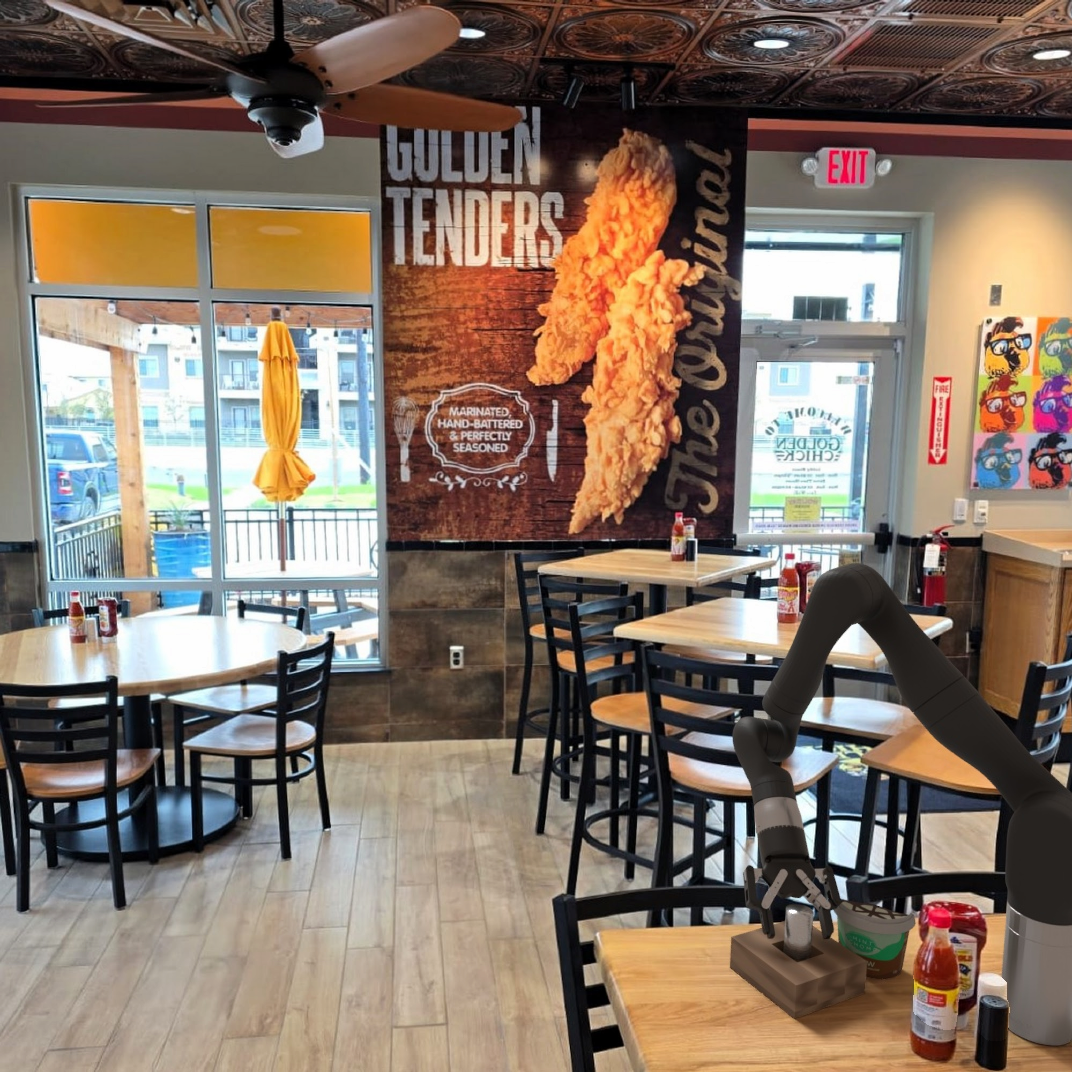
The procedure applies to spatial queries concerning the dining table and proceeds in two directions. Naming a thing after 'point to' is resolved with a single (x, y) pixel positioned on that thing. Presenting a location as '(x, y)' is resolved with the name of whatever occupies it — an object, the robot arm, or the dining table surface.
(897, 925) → the food container
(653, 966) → the dining table surface
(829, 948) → the socket block
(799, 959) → the steel pin
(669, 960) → the dining table surface
